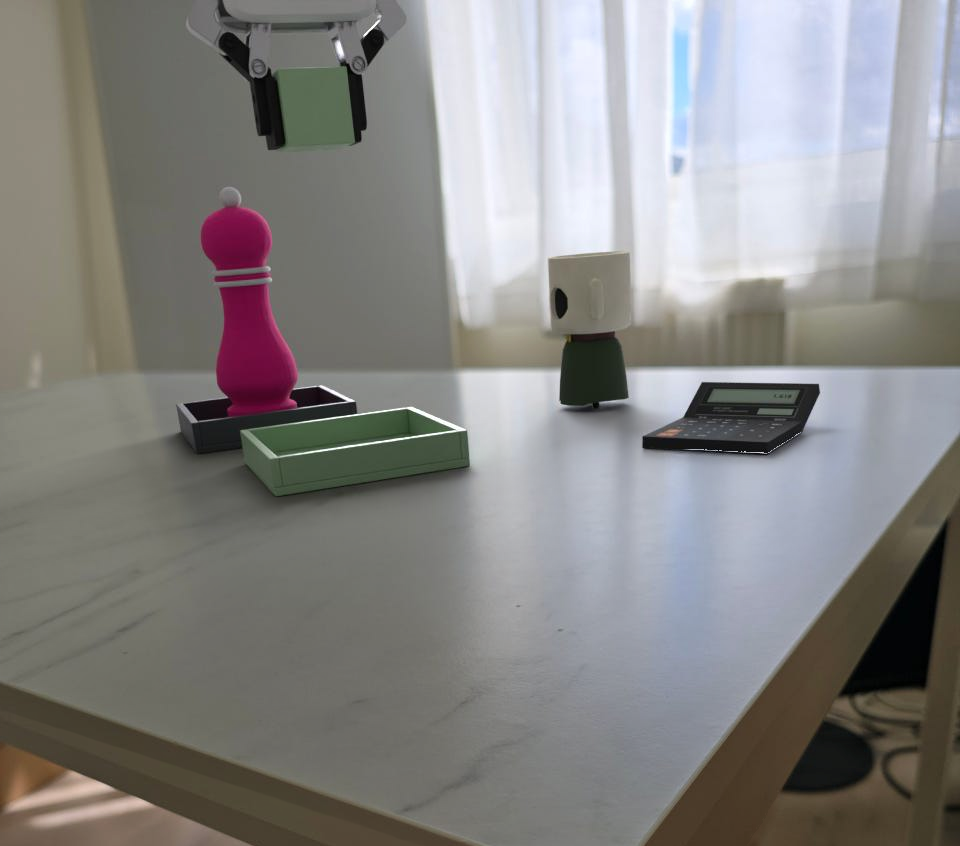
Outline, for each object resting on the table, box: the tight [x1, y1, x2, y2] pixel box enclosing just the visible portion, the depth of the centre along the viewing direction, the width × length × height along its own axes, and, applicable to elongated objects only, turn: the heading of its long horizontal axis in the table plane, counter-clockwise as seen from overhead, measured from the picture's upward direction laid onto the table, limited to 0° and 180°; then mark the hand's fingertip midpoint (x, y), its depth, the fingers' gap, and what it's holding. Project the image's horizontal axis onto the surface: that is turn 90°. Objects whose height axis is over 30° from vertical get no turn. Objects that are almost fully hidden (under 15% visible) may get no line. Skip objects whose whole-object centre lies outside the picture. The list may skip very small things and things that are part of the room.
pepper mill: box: [200, 186, 299, 417], centre depth 90 cm, size 7×7×20 cm
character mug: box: [547, 250, 632, 410], centre depth 90 cm, size 11×7×13 cm, turn 1°
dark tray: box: [175, 384, 358, 455], centre depth 93 cm, size 14×13×3 cm
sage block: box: [272, 66, 355, 154], centre depth 68 cm, size 4×4×4 cm
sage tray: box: [240, 406, 471, 497], centre depth 77 cm, size 14×13×3 cm
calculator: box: [641, 381, 821, 453], centre depth 76 cm, size 9×12×3 cm
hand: (314, 142), depth 69 cm, fingers closed on sage block, 4 cm apart
